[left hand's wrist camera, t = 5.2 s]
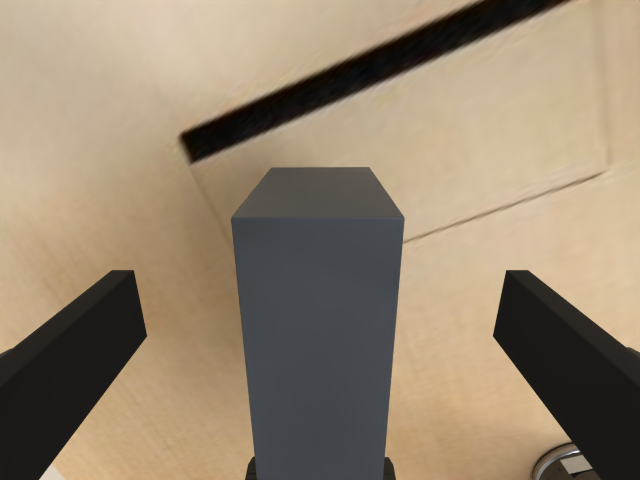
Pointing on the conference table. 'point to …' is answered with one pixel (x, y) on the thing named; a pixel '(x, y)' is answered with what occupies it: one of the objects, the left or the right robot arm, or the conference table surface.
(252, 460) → the right robot arm
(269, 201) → the box
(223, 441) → the conference table surface
